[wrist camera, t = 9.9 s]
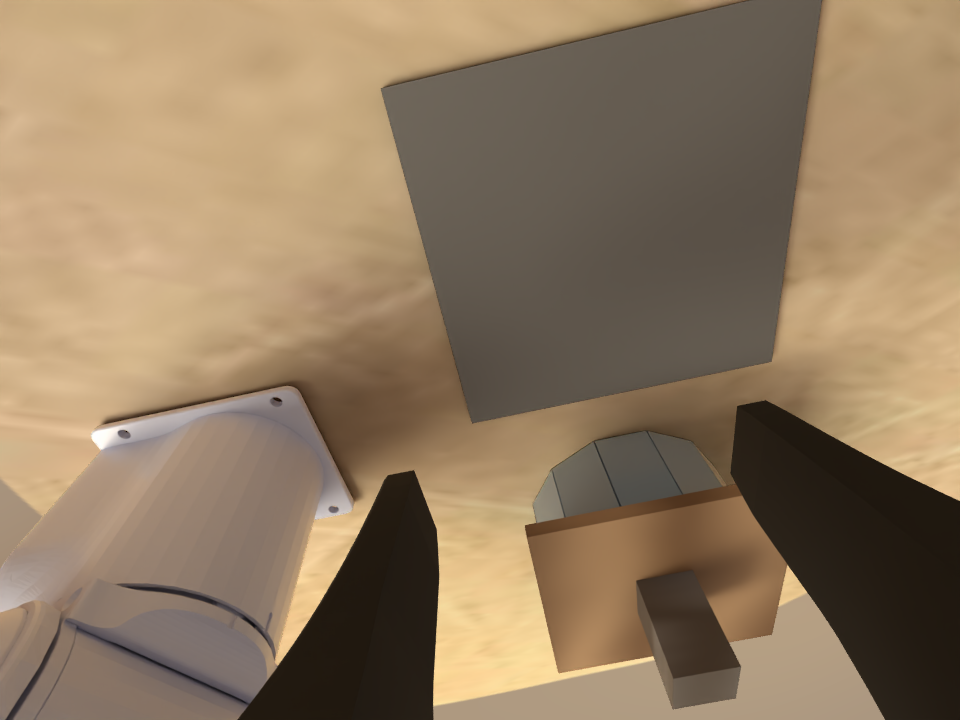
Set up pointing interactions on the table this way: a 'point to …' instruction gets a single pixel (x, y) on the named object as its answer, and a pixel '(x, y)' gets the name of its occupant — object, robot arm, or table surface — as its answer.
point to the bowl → (624, 475)
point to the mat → (611, 203)
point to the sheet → (645, 550)
